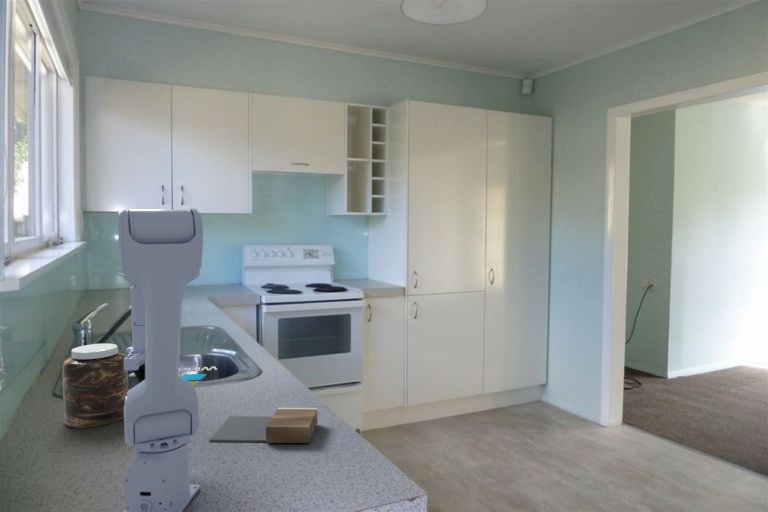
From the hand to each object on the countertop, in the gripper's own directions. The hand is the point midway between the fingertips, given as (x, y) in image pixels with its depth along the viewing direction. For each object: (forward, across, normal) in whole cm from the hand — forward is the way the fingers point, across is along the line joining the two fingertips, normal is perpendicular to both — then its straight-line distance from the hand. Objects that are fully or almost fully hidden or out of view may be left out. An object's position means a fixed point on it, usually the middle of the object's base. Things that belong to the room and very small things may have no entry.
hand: (152, 400), depth 93 cm
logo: (+11, -46, -17) cm, 50 cm away
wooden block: (+8, -6, +22) cm, 24 cm away
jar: (+11, -19, -21) cm, 30 cm away
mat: (+10, -14, +16) cm, 23 cm away
